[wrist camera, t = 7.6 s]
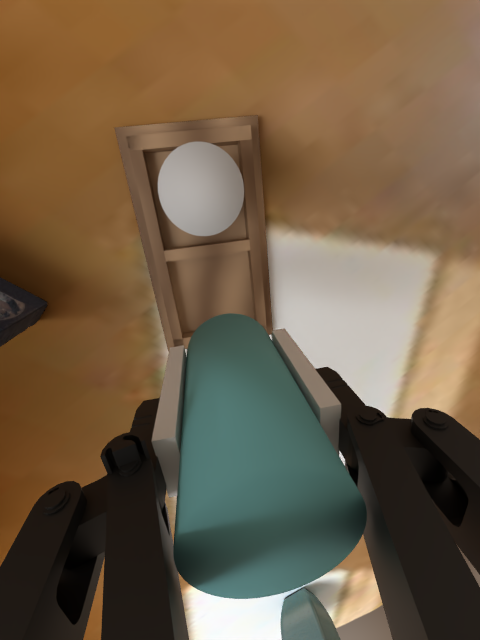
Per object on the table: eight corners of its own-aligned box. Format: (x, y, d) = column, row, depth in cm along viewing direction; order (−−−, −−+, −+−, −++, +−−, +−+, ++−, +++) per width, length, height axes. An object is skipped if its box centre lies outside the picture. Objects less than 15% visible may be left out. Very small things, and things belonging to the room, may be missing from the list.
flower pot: (326, 593, 57) (349, 657, 49) (292, 613, 58) (308, 679, 50) (307, 578, 54) (327, 644, 46) (270, 599, 55) (284, 668, 47)
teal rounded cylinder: (195, 394, 17) (193, 615, 8) (179, 321, 15) (151, 497, 6) (273, 380, 17) (360, 572, 8) (268, 307, 15) (374, 449, 6)
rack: (169, 347, 31) (167, 358, 29) (117, 130, 23) (108, 122, 21) (270, 330, 32) (276, 339, 30) (255, 119, 24) (261, 109, 22)
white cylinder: (177, 230, 26) (168, 241, 17) (166, 171, 24) (148, 145, 15) (229, 224, 26) (248, 230, 17) (222, 165, 24) (239, 137, 15)
